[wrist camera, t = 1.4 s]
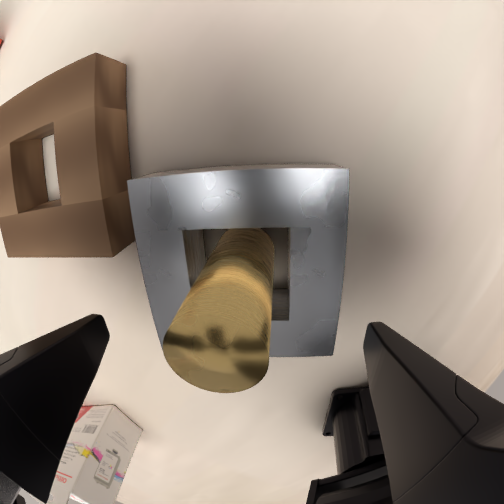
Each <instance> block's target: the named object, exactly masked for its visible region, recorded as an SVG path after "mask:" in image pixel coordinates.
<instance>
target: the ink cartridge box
mask: <svg viewBox="0 0 504 504" xmlns="http://www.w3.org/2000/svg"><path fill="white" fill-rule="evenodd" d="M141 433H142V429H141V428H139V427H138V426H137V425H136V424H135V423H133V422H132V421H131V420H130V419H129V418H128V417H127V416H126V415H124V414H123V413H122V412H121V411H120V410H119V409H118V408H117V407H116V406H114V405H103V406H87V407H81V409H80V411H79V414H78V416H77V418H76V421H75V423H74V426H73V428H72V431H71V433H70V436H69V438H68V441H67V444H66V446H65V449H64V452H63V454H62V457H61V460H60V463H59V466H58V469H57V472H56V475H55V478H54V481H53V485H52V488H51V491H50V495H52V496H53V500H52V501H50V500H49V499H48V501H47V503H46V504H67V503H68V500H69V498H71V499H73V500H75V501H78V502H80V503H82V504H114V503H115V500H116V497H117V495H118V492H119V490H120V487H121V484H122V482H123V479H124V476H125V474H126V471H127V468H128V466H129V463H130V461H131V458H132V456H133V453H134V450H135V448H136V445H137V443H138V440H139V438H140V436H141ZM30 497H32V498H33V499H35V500H36V501H37V502H38V503H40V504H45V503H43V502H42V501H40V500H39V499H37V498H36V497H34V496H33V495H31V494H30Z"/></svg>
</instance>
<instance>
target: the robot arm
mask: <svg viewBox="0 0 504 504" xmlns="http://www.w3.org/2000/svg"><path fill="white" fill-rule="evenodd" d="M109 338H110V335H109V331H108V328H107V326H106V323H105V320H104V318H103V316H102V315H98V314H91V315H89V316H86V317H84V318H82V319H79V320H77V321H75V322H73V323H70V324H68V325H66V326H64V327H61V328H59V329H57V330H55V331H52V332H50V333H48V334H46V335H43V336H41V337H39V338H37V339H34V340H32V341H30V342H28V343H26V344H23V345H21V346H19V347H16V348H14V349H12V350H10V351H7V352H5V353H3V354H0V504H26V503H25V499H24V498H23V497H22V496H21V495H19V494H18V493H19V491H20V490H21V488H23V489H24V490H26V491H27V492H29V493H30V494H31V495H33V496H34V497H36V498H37V499H39V500H40V501H42V502H43V503H45V504H46V503H47V501H48V498H49V495H50V491H51V488H52V485H53V481H54V478H55V475H56V472H57V469H58V466H59V463H60V460H61V457H62V454H63V452H64V449H65V446H66V444H67V441H68V438H69V436H70V433H71V431H72V428H73V426H74V423H75V421H76V418H77V416H78V414H79V411H80V409H81V407H82V404H83V402H84V400H85V398H86V395H87V393H88V391H89V389H90V386H91V384H92V382H93V380H94V378H95V376H96V373H97V371H98V368H99V366H100V363H101V360H102V357H103V355H104V352H105V349H106V347H107V344H108V341H109ZM363 350H364V356H365V362H366V369H367V376H368V383H369V387H361V388H351V389H339V390H336V391H334V392H333V393H332V396H331V400H330V404H329V408H328V412H327V416H326V420H325V423H324V427H323V435H324V436H334V443H335V452H336V463H337V473H338V475H335V476H331V477H328V478H324V479H316V480H312V481H311V485H310V490H309V493H308V498H307V502H306V504H504V404H503V403H501V402H499V401H498V400H496V399H494V398H492V397H491V396H489V395H487V394H486V393H484V392H482V391H481V390H479V389H477V388H476V387H474V386H473V385H471V384H470V383H469V382H467V381H466V380H464V379H463V378H461V377H460V376H459V375H456V373H454V372H453V371H451V370H450V369H449V368H447V367H446V366H444V365H443V364H441V363H440V362H439V361H437V360H436V359H434V358H433V357H431V356H430V355H429V354H427V353H426V352H424V351H423V350H421V349H420V348H419V347H417V346H416V345H414V344H413V343H411V342H410V341H408V340H407V339H406V338H404V337H403V336H401V335H400V334H398V333H397V332H395V331H394V330H392V329H391V328H390V327H388V326H387V325H385V324H384V323H382V322H371V323H369V324H368V326H367V330H366V335H365V339H364V345H363Z"/></svg>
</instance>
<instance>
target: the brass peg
mask: <svg viewBox="0 0 504 504" xmlns="http://www.w3.org/2000/svg"><path fill="white" fill-rule="evenodd" d="M274 252H275V251H274V245H273V242H272V240H271V238H270V237H269V236H268V234H267V233H266V232H264V231H263V230H262V229H260V228H230V229H228V230H227V231H226V232H225V233H224V234H223V235H222V237H221V238H220V240H219V242H218V243H217V245H216V247H215V248H214V250H213V252H212V253H211V255H210V257H209V258H208V260H207V262H206V264H205V265H204V267H203V269H202V270H201V272H200V274H199V275H198V277H197V279H196V281H195V282H194V284H193V286H192V288H191V289H190V291H189V293H188V294H187V296H186V298H185V300H184V301H183V303H182V305H181V307H180V308H179V310H178V312H177V314H176V316H175V317H174V319H173V321H172V323H171V325H170V326H169V328H168V330H167V332H166V334H165V336H164V339H163V352H164V356H165V358H166V360H167V362H168V364H169V365H170V367H171V368H172V369H173V371H174V372H175V373H176V374H177V375H179V376H180V377H181V378H182V379H184V380H185V381H187V382H188V383H190V384H192V385H194V386H196V387H198V388H201V389H204V390H207V391H212V392H218V393H234V392H240V391H243V390H246V389H249V388H251V387H253V386H255V385H256V384H257V383H259V382H260V381H261V380H262V379H263V377H264V376H265V374H266V372H267V370H268V365H269V351H270V334H271V316H272V297H273V276H274Z"/></svg>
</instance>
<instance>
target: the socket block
mask: <svg viewBox="0 0 504 504" xmlns="http://www.w3.org/2000/svg"><path fill="white" fill-rule="evenodd" d="M127 185H128V193H129V201H130V208H131V214H132V221H133V227H134V233H135V238H136V244H137V249H138V254H139V259H140V264H141V269H142V274H143V278H144V283H145V287H146V291H147V295H148V299H149V303H150V307H151V311H152V315H153V319H154V322H155V326H156V330H157V333H158V337H159V340H160V343H161V347H162V350H163V339H164V336H165V334H166V332H167V330H168V328H169V326H170V325H171V323H172V321H173V319H174V317H175V316H176V314H177V312H178V310H179V308H180V307H181V305H182V303H183V301H184V300H185V298H186V296H187V294H188V293H189V291H190V289H191V288H192V286H193V284H194V282H195V281H196V279H197V277H198V275H199V274H200V272H201V270H202V269H203V267H204V265H205V264H206V257H205V249H204V240H203V230H202V229H226V228H276V227H288V289H273V297H272V316H271V334H270V351H269V357H308V356H332V355H333V351H334V345H335V339H336V332H337V326H338V319H339V311H340V303H341V295H342V286H343V277H344V266H345V255H346V242H347V226H348V204H349V169H347V168H344V167H341V166H338V165H335V164H255V165H234V166H218V167H204V168H193V169H182V170H173V171H164V172H155V173H152V174H148V175H144V176H141V177H137V178H134V179H130V180H127Z"/></svg>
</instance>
